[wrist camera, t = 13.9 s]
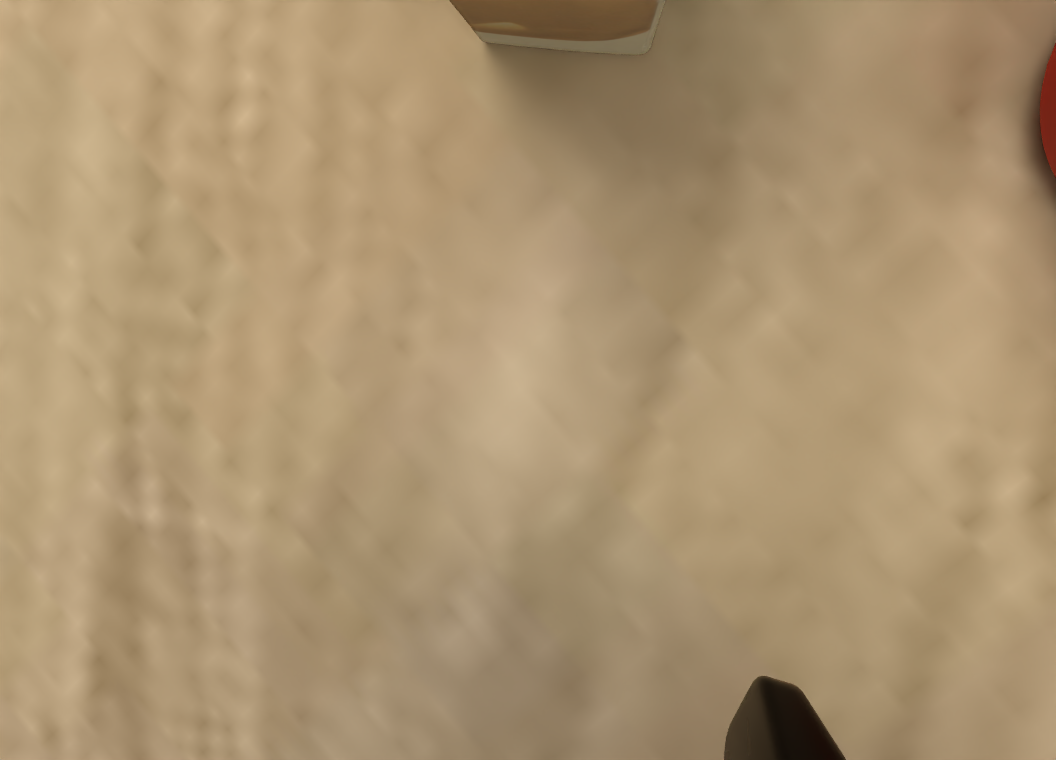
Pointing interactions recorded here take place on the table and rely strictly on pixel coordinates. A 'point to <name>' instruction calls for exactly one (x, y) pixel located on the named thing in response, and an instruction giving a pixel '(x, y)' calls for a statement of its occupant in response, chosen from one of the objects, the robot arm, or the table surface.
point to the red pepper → (1049, 111)
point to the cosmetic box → (566, 23)
